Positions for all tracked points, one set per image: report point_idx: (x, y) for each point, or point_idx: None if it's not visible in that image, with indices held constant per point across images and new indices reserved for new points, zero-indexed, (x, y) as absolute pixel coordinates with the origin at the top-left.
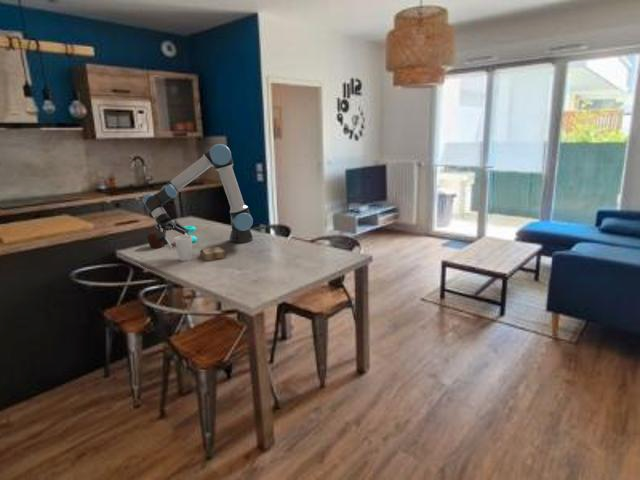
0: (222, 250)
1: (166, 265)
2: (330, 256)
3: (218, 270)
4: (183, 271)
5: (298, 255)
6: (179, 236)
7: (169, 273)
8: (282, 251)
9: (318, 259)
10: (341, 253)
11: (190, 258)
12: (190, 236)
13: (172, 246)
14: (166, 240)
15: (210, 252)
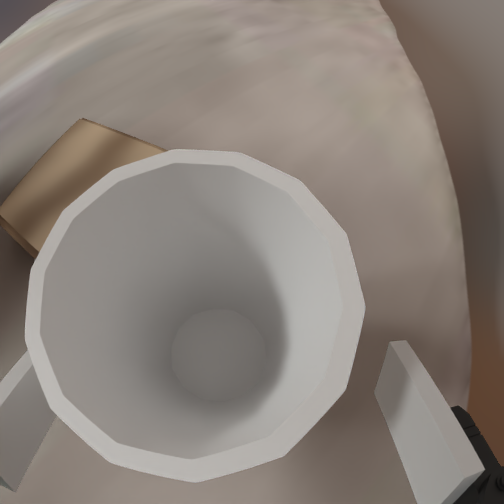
0: (68, 135)
1: None
2: (56, 14)
3: (274, 68)
4: (393, 168)
5: (48, 38)
6: (144, 447)
7: (455, 208)
8: (9, 78)
9: (78, 10)
10: (36, 19)
11: (201, 310)
12: (69, 230)
13: (392, 344)
14: (460, 442)
15: (124, 156)
